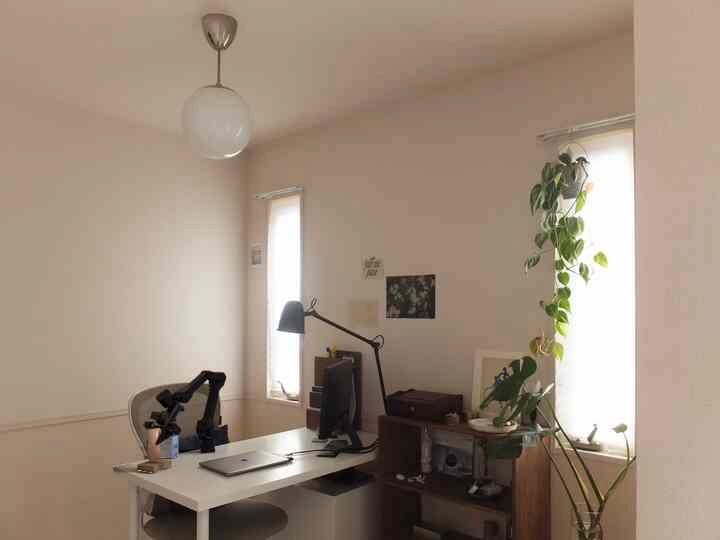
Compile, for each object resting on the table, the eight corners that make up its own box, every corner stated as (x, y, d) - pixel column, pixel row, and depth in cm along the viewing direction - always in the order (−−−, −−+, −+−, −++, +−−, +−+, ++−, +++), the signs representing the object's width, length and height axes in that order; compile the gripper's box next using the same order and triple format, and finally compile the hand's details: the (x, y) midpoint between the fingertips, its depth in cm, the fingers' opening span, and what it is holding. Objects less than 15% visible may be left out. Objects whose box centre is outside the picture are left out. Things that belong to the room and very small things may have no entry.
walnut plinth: (155, 465, 251) (155, 458, 251) (171, 467, 247) (171, 460, 247) (137, 471, 242) (137, 464, 242) (153, 473, 238) (153, 466, 238)
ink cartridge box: (179, 456, 267) (178, 425, 268) (173, 459, 262) (172, 427, 263) (160, 455, 269) (160, 425, 270) (154, 458, 264) (153, 427, 265)
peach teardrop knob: (162, 457, 247) (162, 427, 248) (157, 460, 242) (157, 430, 243) (151, 457, 247) (151, 428, 248) (146, 460, 242) (146, 430, 243)
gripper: (146, 403, 254) (126, 432, 244) (175, 404, 246) (156, 435, 235) (159, 417, 261) (141, 446, 250) (189, 419, 252) (171, 449, 242)
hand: (151, 444), depth 244 cm, fingers closed on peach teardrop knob, 5 cm apart
